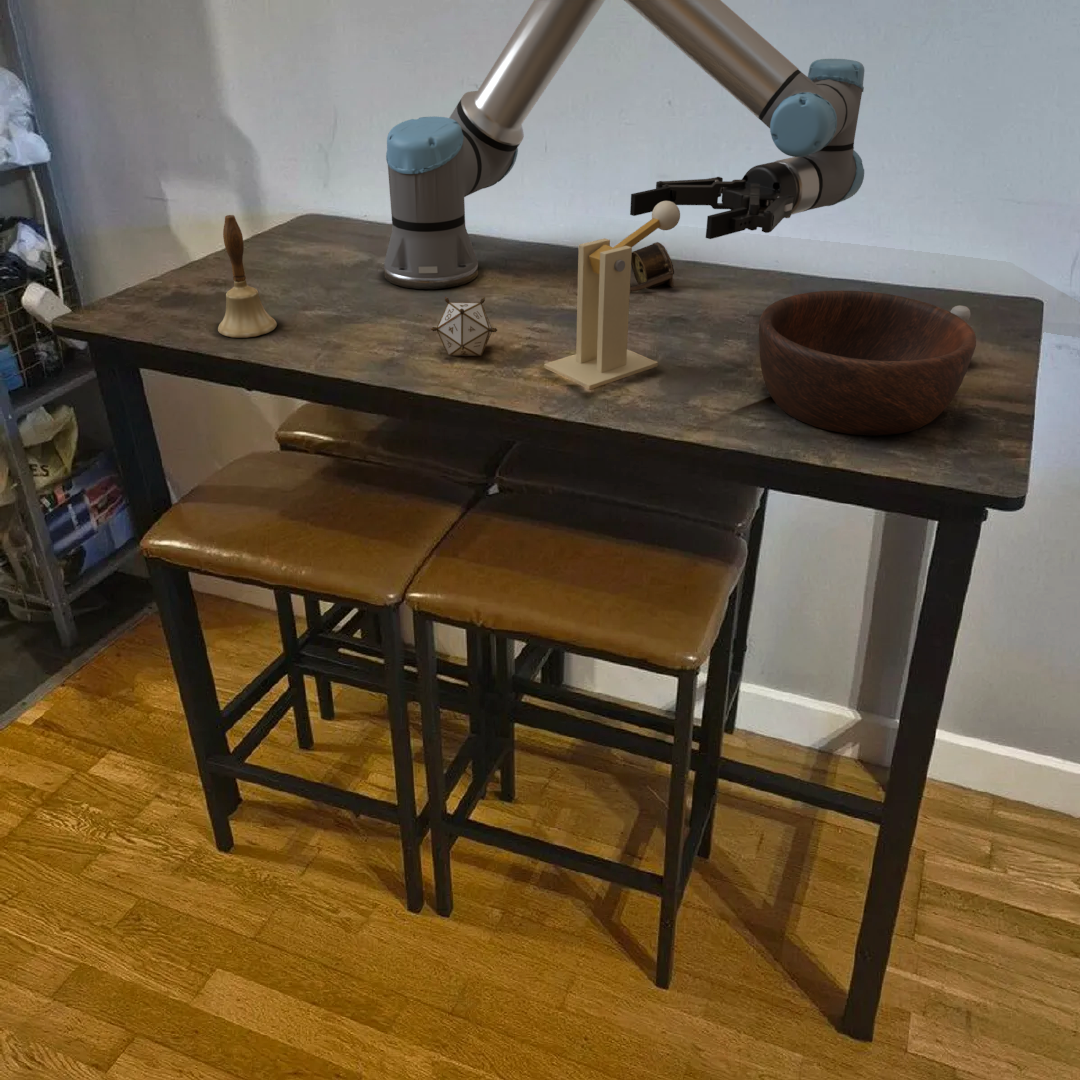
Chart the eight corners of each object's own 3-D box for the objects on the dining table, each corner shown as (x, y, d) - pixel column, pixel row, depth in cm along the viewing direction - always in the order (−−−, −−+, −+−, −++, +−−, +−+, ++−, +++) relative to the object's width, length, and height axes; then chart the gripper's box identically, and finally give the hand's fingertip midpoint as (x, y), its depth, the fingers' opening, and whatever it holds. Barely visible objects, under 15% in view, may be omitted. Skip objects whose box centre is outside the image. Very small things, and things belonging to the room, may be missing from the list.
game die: (471, 388, 144) (465, 350, 135) (423, 355, 146) (414, 315, 137) (512, 342, 147) (508, 301, 137) (464, 310, 149) (457, 268, 139)
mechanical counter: (682, 267, 160) (679, 234, 167) (598, 259, 159) (598, 226, 166) (673, 308, 165) (670, 275, 172) (592, 300, 164) (592, 266, 172)
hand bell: (206, 333, 151) (186, 220, 143) (240, 314, 158) (223, 205, 149) (254, 341, 149) (237, 227, 140) (288, 322, 155) (273, 211, 147)
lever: (668, 218, 138) (663, 193, 136) (688, 224, 136) (683, 198, 133) (590, 275, 133) (583, 250, 131) (609, 282, 131) (603, 257, 129)
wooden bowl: (714, 379, 138) (721, 303, 132) (873, 353, 145) (886, 279, 140) (826, 464, 118) (841, 378, 112) (1004, 427, 126) (1025, 345, 120)
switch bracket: (611, 352, 146) (616, 229, 137) (657, 372, 140) (665, 245, 131) (543, 373, 139) (544, 246, 130) (589, 395, 133) (593, 264, 124)
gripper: (847, 237, 141) (740, 268, 129) (708, 199, 157) (602, 224, 146) (856, 179, 137) (747, 206, 125) (713, 146, 153) (604, 167, 142)
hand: (669, 216), depth 135 cm, fingers open, 13 cm apart
